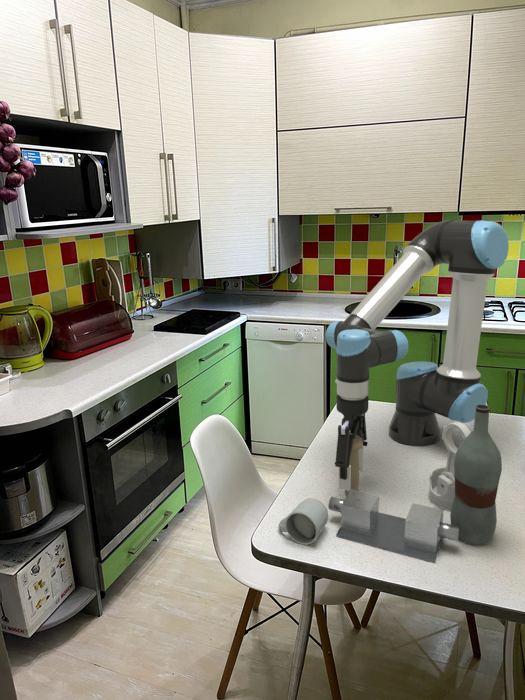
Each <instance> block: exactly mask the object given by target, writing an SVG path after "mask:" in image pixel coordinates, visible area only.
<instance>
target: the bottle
mask: <svg viewBox="0 0 525 700" xmlns="http://www.w3.org/2000/svg"><path fill="white" fill-rule="evenodd" d="M475 408H476V411H475V419H474V420H473V421H474V422H473V430H472V431H470V432H471V433H470V434H469V435H468V436H467V437H466V438H465V440H462V442H461V443H460V444H459V445H458V447H457V448H458V450H457V452H456V456H455V461H454V473H455V497H454V501H453V504H452V509H451V511H450V514H449V516H450V518H449V519H450V524H451V525H455V526H460V533H459V539H458V541H460V542H461V543H464V544H466V545H469V546H470V545H471V546H479V547H480V546H485V545H488V544H489V543H490V542H491V541H492V540H493V538H494V535H495V532H496V528H497V522H498V521H497V519H498V518H497V505H496V500H497V494H498V489H499V484H500V481H501V477H502V470H503V467H502V466H503V463H502V455H501V451H500V450H499V448H498V446H497V445H496V443H495V441H494V439H493V438H492V436H491V434H490V432H489V423H490V422H489V419H490V410H491V408H490V406H489V405H487V404H486V405H483V404H479V405H476V406H475Z"/></svg>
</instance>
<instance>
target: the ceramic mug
mask: <svg viewBox="0 0 525 700" xmlns="http://www.w3.org/2000/svg"><path fill="white" fill-rule="evenodd" d="M328 520H329V511H328V508H327V507H326V506H325V504H324V503H323V502H322V501H320V500H318V499H316V498H313V497H311V498H307V499H304V500H303V501H301V502H300V503H299V504H298V505H297V506H296V507H295V508H294V509H293V510H292V511H291V512H290V513H289V514H288V515H287V516H286V517H284V518H282V519H281V520H280V521H279V522H278V527H279V530H280V531H281V532H282V533H287V534H288V536H289V538H290V539H292V540H293V541H294V542H296V543H298V544H300V545H303V546H305V545H306V546H307V545H311V544H313V543H314V542H315V541H317V538H318V537H319V535H320V534H321V533H322V531H323V529H324V528H325V526H326V525H327V524H328Z"/></svg>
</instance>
